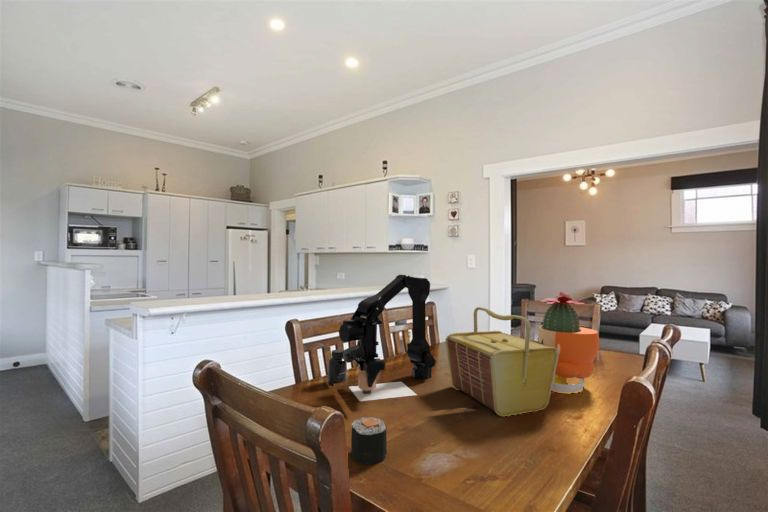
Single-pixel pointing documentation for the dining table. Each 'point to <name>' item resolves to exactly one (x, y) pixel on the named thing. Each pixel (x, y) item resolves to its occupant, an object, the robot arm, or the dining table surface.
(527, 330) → the picnic basket
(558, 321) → the potted cactus
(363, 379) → the terracotta cap
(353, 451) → the sushi
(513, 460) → the dining table surface
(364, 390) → the metal post
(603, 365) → the dining table surface
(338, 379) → the supplement bottle
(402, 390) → the off-white board
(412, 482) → the dining table surface
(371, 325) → the robot arm
